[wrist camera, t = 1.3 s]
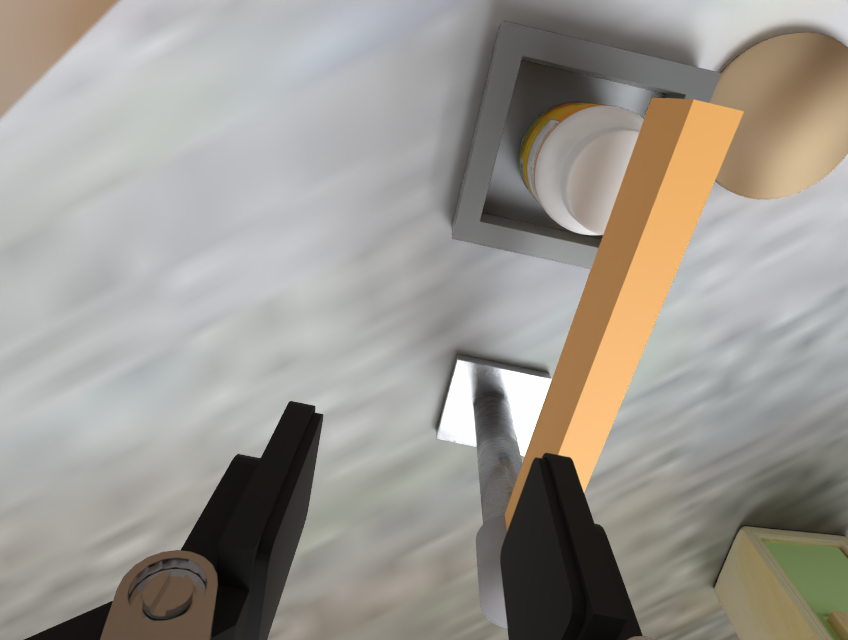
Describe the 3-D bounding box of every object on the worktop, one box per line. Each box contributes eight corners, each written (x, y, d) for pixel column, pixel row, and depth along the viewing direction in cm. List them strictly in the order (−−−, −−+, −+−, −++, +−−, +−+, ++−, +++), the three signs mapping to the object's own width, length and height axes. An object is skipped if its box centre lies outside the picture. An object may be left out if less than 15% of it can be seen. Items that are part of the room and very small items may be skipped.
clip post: (549, 373, 35) (594, 498, 24) (522, 448, 37) (553, 593, 26) (457, 353, 34) (462, 472, 24) (436, 431, 37) (432, 570, 26)
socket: (698, 74, 28) (721, 73, 25) (625, 265, 32) (639, 279, 29) (499, 26, 27) (504, 20, 25) (451, 227, 31) (452, 238, 29)
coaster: (890, 54, 27) (899, 53, 26) (811, 211, 30) (818, 213, 29) (737, 16, 27) (743, 14, 26) (673, 179, 30) (677, 181, 29)
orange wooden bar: (534, 572, 25) (546, 636, 23) (468, 560, 25) (471, 622, 22) (720, 113, 17) (776, 118, 14) (624, 91, 17) (661, 92, 14)
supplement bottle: (637, 128, 29) (724, 146, 20) (585, 220, 31) (643, 274, 22) (546, 84, 28) (594, 82, 19) (500, 181, 30) (522, 221, 21)
